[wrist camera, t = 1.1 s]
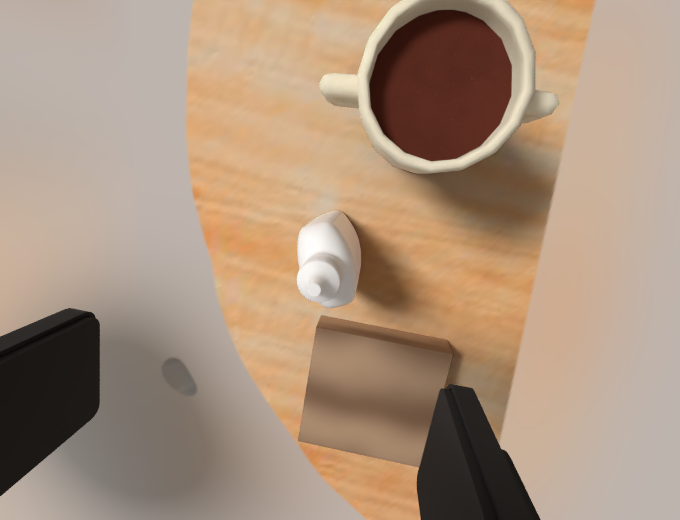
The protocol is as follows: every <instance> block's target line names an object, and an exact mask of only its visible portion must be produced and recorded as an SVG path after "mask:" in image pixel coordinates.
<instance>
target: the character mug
mask: <svg viewBox="0 0 680 520" xmlns="http://www.w3.org/2000/svg"><path fill="white" fill-rule="evenodd" d="M319 86H320V89H321V93H322V94H323V96H324V97H325V99H326V100H327V101H328V102H329V103H331V104H333V105H335V106H340V107H351V108H359V113H360V116H361V120H362V123H363V127H364V129H365V131H366V133H367V135H368V137H369V139H370V142H371V144H372V146H373V148H374V150H375V151H376V152H377V153H378V154H380V155H381V156H382V157H383V158H384V159H385V160H386V161H388V162H389V163H390V164H391V165H392V166H393V167H397V168H400V169H403V170H406V171H409V172H412V173H415V174H429V173H439V172H450V171H461V170H463V169H465V168H467V167H469V166H471V165H473V164H475V163H477V162H479V161H481V160H483V159H485V158H487V157H489V156H490V155H492V154H494V153H496V152H497V150H498V149H499V148H500V147H501V146H502V145H503V144H504V143H505V142H506V141H507V140H508V139H509V137H510V136H511V135H512V134H513V133H514V132H515V131H516V130H517V129H518V128H519V127H520V125H521V123H528V122H531V121H534V120H537V119H540V118H542V117H545V116H548V115H551V114H552V113H553V111H554V110H555V109H556V107H557V106H558V105H559V101H558V97H557V95H555V94H552V93H550V92H546V91H538V90H535V50H534V47H533V44H532V42H531V39H530V36H529V33H528V31H527V28H526V25H525V23H524V20H523V18H522V17H521V15H520V14H519V13H518V12H517V11H516V10H515V9H514V8H513V7H512V6H511V5H510V4H509V3H508V2H507V0H402V1H400V2H399V3H397V4H396V5H395V6H393V7H392V8H391V9H390V10H389V11H388V13H387V14H386V15H385V17H384V18H383V20H382V21H381V22H380V24H379V25H378V27H377V28H376V29H375V31H374V32H373V33H372V35H371V36H370V38H369V39H368V42H367V45H366V49H365V52H364V55H363V58H362V61H361V65H360V68H359V71H358V74H357V75H354V74H342V73H331V74H326V75H324V76H323V78H322V80H321V82H320V84H319Z"/></svg>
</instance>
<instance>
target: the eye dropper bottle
mask: <svg viewBox="0 0 680 520" xmlns="http://www.w3.org/2000/svg"><path fill="white" fill-rule="evenodd" d="M297 251H298V263H299V268H300V270H299V272H298V274H297V275H298V276H297V284H298V285H297V286H298V288H299V290H300V292H301V294H303V296H304V297H306V298H307V299H308V300H310V301H312V302H313V301H314V302H319V303H320V304H321V305H322V306H324V307H325V308H335V307H339V306H343V305H346V304H349V303H350V302H352V300H353V299H354V297H355V294H356V290H357V285H358V279H359V274H360V268H361V248H360V243H359V239H358V236H357V233H356V231H355V229H354V227H353V225H352V224H351V222H350V221H349V219H348V218H347V216H346V215H345V214H344V213H343V212H341V211H340V210H335V211H332V212H328V213H325V214H322V215H320V216H318V217H317V218H315V219H314V220H312V221H311V222H310V223H308V224H307V225H306V226H304V227H303V228H302V229H301V231H300V233H299V237H298V249H297Z"/></svg>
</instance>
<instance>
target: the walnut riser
mask: <svg viewBox="0 0 680 520" xmlns="http://www.w3.org/2000/svg"><path fill="white" fill-rule="evenodd" d="M452 357H453V353H452V351H451V348H450V346H449V343H448V341H447V340H443V339H438V338H433V337H428V336H423V335H418V334H413V333H408V332H403V331H398V330H393V329H387V328H382V327H377V326H372V325H367V324H362V323H357V322H352V321H347V320H342V319H337V318H332V317H327V316H321V317H320V320H319V322H318V325H317V327H316V333H315V339H314V345H313V351H312V357H311V364H310V370H309V376H308V382H307V388H306V394H305V400H304V407H303V413H302V419H301V425H300V431H299V437H298V441H301V442H305V443H310V444H314V445H319V446H324V447H328V448H333V449H337V450H342V451H346V452H351V453H356V454H360V455H365V456H369V457H374V458H378V459H383V460H387V461H392V462H397V463H401V464H406V465H410V466H415V467H420V463H421V459H422V455H423V451H424V447H425V444H426V440H427V436H428V432H429V428H430V425H431V421H432V417H433V413H434V409H435V405H436V402H437V398H438V394H439V391H440V389H441V388H444V387H445V383H446V379H447V376H448V372H449V368H450V365H451V361H452Z"/></svg>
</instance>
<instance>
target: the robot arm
mask: <svg viewBox="0 0 680 520" xmlns="http://www.w3.org/2000/svg"><path fill="white" fill-rule="evenodd" d="M99 369H100V324H99V321H98V320H97V319H96V318H95V315H94V314H93V313H92V312H87V311H82V310H77V309H71V308H68V309H65V310H62V311H60V312H58V313H55V314H53V315H50V316H48V317H46V318H43V319H41V320H39V321H36V322H34V323H32V324H29V325H27V326H24V327H22V328H20V329H17V330H15V331H13V332H10V333H8V334H6V335H3V336H1V337H0V496H1V495H2V494H4V493H5V492H6V491H7V490H8V489H9V488H11V487H12V486H13V485H14V484H15V483H16V482H18V481H19V480H20V479H21V478H22V477H24V476H25V475H26V474H27V473H28V472H30V471H31V470H32V469H33V468H34V467H35V466H37V465H38V464H39V463H40V462H41V461H43V460H44V459H45V458H46V457H47V456H48V455H50V454H51V453H52V452H53V451H54V450H55V449H57V448H58V447H59V446H60V445H61V444H62V443H64V442H65V441H66V440H67V439H68V438H70V437H71V436H72V435H73V434H74V433H75V432H77V431H78V430H79V429H80V428H81V427H83V426H84V425H85V424H86V423H87V422H89V421H90V420H91V419H92V418H93V417H94V416H95V414H96V413H97V411H98V408H99V401H100V399H99V397H100V393H99V392H100V390H99V388H100V386H99V385H100V383H99V382H100V379H99V377H100V370H99ZM417 493H418V501H419V508H420V516H421V520H540V518H539V516H538V514H537V512H536V510H535V507H534V505H533V503H532V501H531V499H530V497H529V495H528V493H527V491H526V489H525V487H524V485H523V483H522V481H521V478H520V476H519V474H518V473H517V470H516V468H515V466H514V464H513V462H512V460H511V458H510V456H509V455H508V453H507V452H506V451H504V450H502V449H501V448H500V445H499V443H498V441H497V439H496V437H495V435H494V433H493V430H492V428H491V426H490V424H489V422H488V420H487V417H486V415H485V413H484V411H483V409H482V407H481V405H480V402H479V400H478V398H477V396H476V394H475V392H474V390H473V389H472V388H468V387H463V386H458V385H453V384H450V385H448V387H447V389H444V388H441V389H440V391H439V394H438V398H437V402H436V405H435V409H434V413H433V417H432V421H431V425H430V428H429V432H428V436H427V440H426V444H425V447H424V451H423V455H422V459H421V463H420V467H419V470H418V475H417Z"/></svg>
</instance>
